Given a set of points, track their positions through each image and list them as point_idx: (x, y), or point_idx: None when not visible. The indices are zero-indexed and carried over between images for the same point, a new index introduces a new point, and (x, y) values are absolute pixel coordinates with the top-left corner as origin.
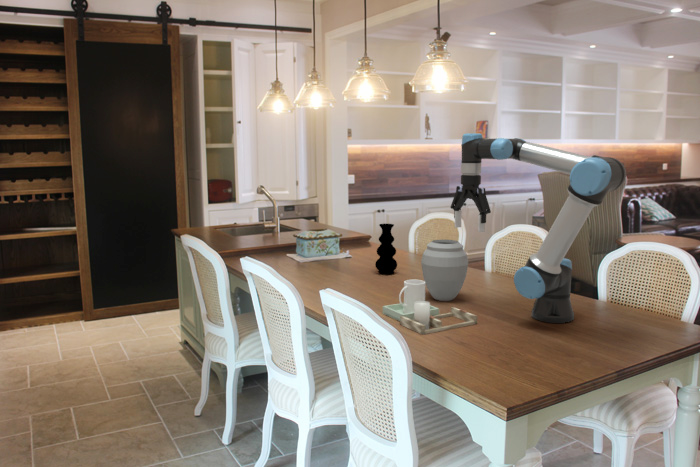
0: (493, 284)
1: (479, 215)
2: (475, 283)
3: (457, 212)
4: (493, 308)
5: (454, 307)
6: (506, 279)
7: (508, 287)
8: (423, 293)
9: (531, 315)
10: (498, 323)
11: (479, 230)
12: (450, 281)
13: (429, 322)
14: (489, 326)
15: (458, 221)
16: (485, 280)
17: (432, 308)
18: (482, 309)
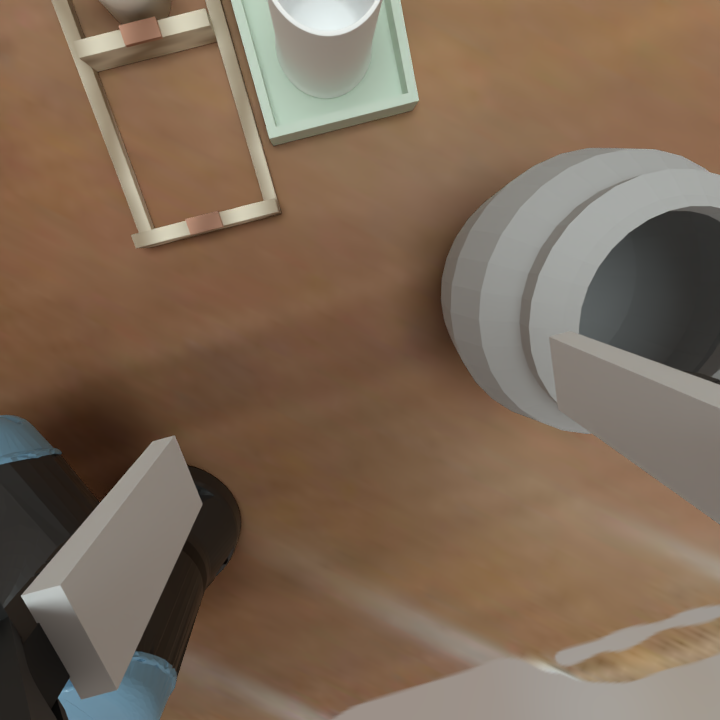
0: (606, 535)
1: (39, 582)
2: (645, 485)
3: (697, 427)
4: (322, 396)
5: (271, 213)
6: (644, 601)
7: (550, 562)
8: (278, 30)
9: (203, 471)
10: (141, 325)
11: (145, 450)
12: (443, 273)
13: (113, 14)
14: (110, 277)
15: (595, 395)
16: (665, 534)
17: (301, 122)
18: (320, 353)
